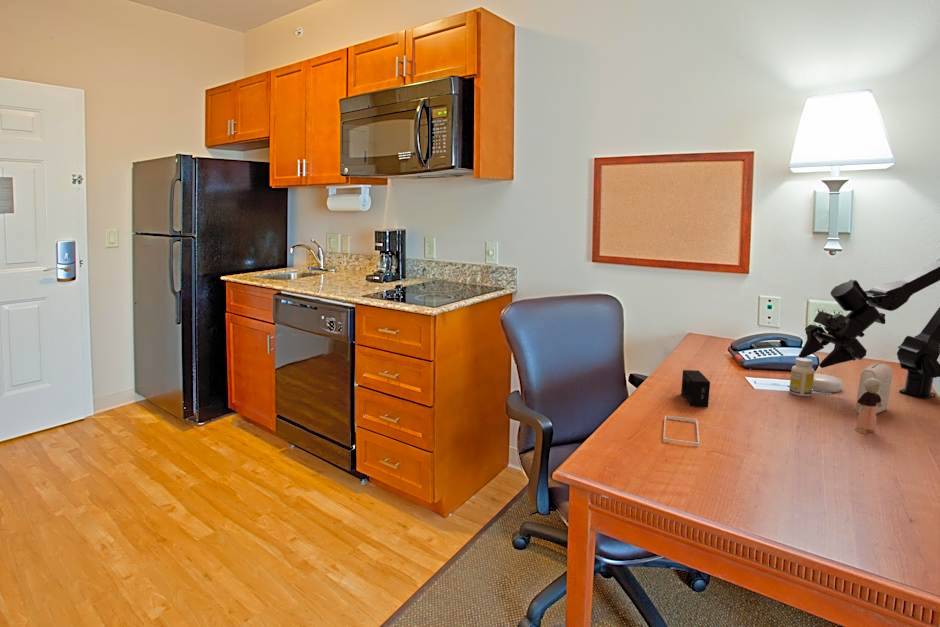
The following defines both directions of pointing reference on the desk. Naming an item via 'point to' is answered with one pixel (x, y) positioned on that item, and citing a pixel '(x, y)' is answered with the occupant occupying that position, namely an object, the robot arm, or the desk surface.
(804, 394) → the supplement bottle
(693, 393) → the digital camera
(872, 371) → the photo printer
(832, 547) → the desk surface
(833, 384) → the plinth
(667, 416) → the phone case
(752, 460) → the desk surface
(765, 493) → the desk surface
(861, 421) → the grandmother figurine
